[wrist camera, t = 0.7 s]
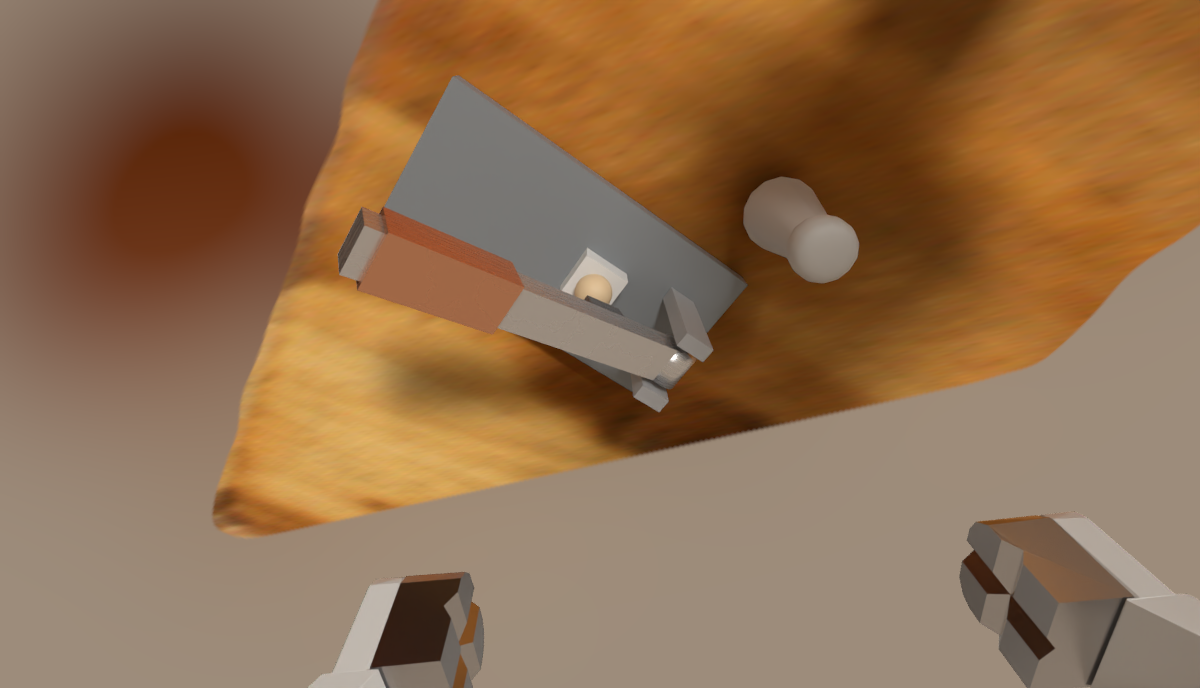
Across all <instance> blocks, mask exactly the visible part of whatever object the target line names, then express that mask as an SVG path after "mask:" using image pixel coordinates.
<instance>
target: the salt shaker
mask: <svg viewBox="0 0 1200 688" xmlns="http://www.w3.org/2000/svg"><path fill="white" fill-rule="evenodd" d="M743 224H744V227H745V229H746V231H747V233H748V235H749V237H750V239H751V240H752V241H753V242H755V243H756V244H757V245H759V246H760V247H761V248H763V249H765V250H768V251H770V252H773V253H775V254H778V255H780V256H783V257H785V258H787V259H788V261H789V263H790V265H791V267H792V269H793V270H794V272H796V273H797V274H798V275H800V276H801V277H802V278H804V279H805V280H807V281H809V282H816V283H827V282H830V281H834V280H838V279H839V278H840V277H841V276H843V275H844V274H845V273H847V272H848V271H849V270H850V269H851V267H852V266H853V264H854V262H855V261H856V259H857V258H858V250H859V241H858V239H857V236H856V233H855V231H854V229H853V228H852V227H851V226H850V225H849V224H847V223H846V222H845V221H843V220H842V219H841V218H839V217H836V216H830V215H827V213H826V211H825V210H824V208H823V206H822V205H821V203H820V201H819V200H818V198H817V196H816V195H815V193H814V191H813V190H812V189H811V188H810V187H809V186H807V185H806V184H805V183H803V182H802V181H801V180H799V179H793V178H787V177H778V178H775V179H771V180H768V181H765V182H764V183H762V184H761V185H760V186H759V187H758V188H757V189H755V190H754V191H753V192H752V193H751V195H750V197H749V199H748V201H747V203H746V205H745V207H744V219H743Z"/></svg>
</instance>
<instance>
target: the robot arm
mask: <svg viewBox="0 0 1200 688" xmlns="http://www.w3.org/2000/svg"><path fill="white" fill-rule="evenodd" d="M967 541H968V543H969V544H970V545H971V546H972V548H973V549H974V550H973V551H972V552H971V553H970V554H969V555H968V556H967V557H966V558H965V559H964V560H963V561H962V565H961V571H960V582H961V587H962V592H963V595H964V598H965V600H966V602H967V604H968V606H969V608H970V610H971V611H972V612H973V614H974V615H975V617H976V618H977V620H978V621H979V622H980V623H981V624H982V625H984V626H986V627H987V628H989V629H991V630H992V631H994V632H996V633H997V634H999V650H1000V652H1001V653H1002V654H1003V656H1004V657H1005V658H1006V660H1007V661H1008V662H1009V664H1010V665H1011V667H1012V668H1013V669H1014V671H1015V672H1016V673H1017V675H1018V676H1019V677H1020V679H1021V680H1022V682H1023V683H1024V684H1025V686H1026V687H1027V688H1083V687H1091V688H1200V600H1199V599H1197V598H1195V597H1193V596H1191V595H1189V594H1174V593H1173V592H1172V591H1171V590H1170V589H1169V588H1167V587H1166V586H1165V585H1164V584H1163V583H1162V582H1161V581H1159V580H1158V579H1157V578H1156V577H1155V576H1154V575H1153V574H1151V573H1150V572H1149V571H1148V570H1147V569H1146V568H1145V567H1143V566H1142V565H1141V564H1140V563H1139V562H1138V561H1137V560H1135V559H1134V558H1133V557H1132V556H1131V555H1130V554H1129V553H1127V552H1126V551H1125V550H1124V549H1123V548H1122V547H1120V546H1119V545H1118V544H1117V543H1116V542H1115V541H1114V540H1112V539H1111V538H1110V537H1109V536H1108V535H1107V534H1106V533H1104V532H1103V531H1102V530H1101V529H1100V528H1099V527H1098V526H1096V525H1095V524H1094V523H1093V522H1092V521H1091V520H1090V519H1088V518H1087V517H1085V516H1084V515H1081V514H1079V513H1077V512H1075V511H1074V512H1064V513H1055V514H1045V515H1040V516H1026V517H1016V518H1008V519H998V520H989V521H980V522H975V523H974V525H973V526H972V527H971V528H970V530H969V534H968V538H967ZM473 590H474V586H473V583H472V580H471V577H470V574H469V573H466V572H459V573H445V574H432V575H416V576H406V577H397V578H382V579H376V580H375V581H374V582H373V583H372V584H371V585H370V586H369V587H368V589H367V591H366V594H365V596H364V599H363V601H362V603H361V606H360V608H359V610H358V613H357V615H356V617H355V620H354V622H353V624H352V627H351V629H350V631H349V634H348V636H347V638H346V641H345V643H344V645H343V648H342V650H341V652H340V655H339V657H338V659H337V662H336V664H335V667H334V669H333V671H332V673H328V674H322V675H321V676H320V677H319V678H317V679H316V680H315V681H314V682H313V683H312V684H311V685H310V686H309V687H308V688H473V686H472V683H471V680H472V679H473V678H474V676H475V675H476V674H477V673H478V672H479V671H480V669H481V663H482V657H483V648H484V628H483V620H482V615H481V611H480V608H479V607H478V606H477V605H476V604H474V603H473V602H472V596H473Z"/></svg>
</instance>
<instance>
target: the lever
mask: <svg viewBox="0 0 1200 688" xmlns="http://www.w3.org/2000/svg"><path fill="white" fill-rule="evenodd" d="M338 264H339V275H342V276H345V277H348V278H351V279H354V280H356V283H357V290H358V291H361V292H364V293H367V294H370V295H373V296H377V297H380V298H383V299H386V300H389V301H392V302H395V303H398V304H401V305H404V306H407V307H410V308H413V309H416V310H419V311H422V312H425V313H428V314H432V315H435V316H438V317H441V318H444V319H447V320H450V321H453V322H456V323H459V324H462V325H465V326H468V327H471V328H474V329H477V330H480V331H483V332H486V333H490V334H493V333H494V332H495V330H496V329H497V328H499V329H502V330H505V331H508V332H511V333H514V334H517V335H520V336H523V337H526V338H529V339H532V340H535V341H538V342H540V343H543V344H546V345H549V346H552V347H555V348H558V349H561V350H564V351H567V352H570V353H573V354H576V355H579V356H582V357H585V358H588V359H591V360H594V361H597V362H600V363H603V364H606V365H609V366H612V367H615V368H617V369H620V370H623V371H626V372H629V373H632V374H635V375H638V376H641V377H644V378H647V379H650V380H653V381H654V382H656V383H657V384H658V385H660V386H662V387H664V388H667V389H672V388H673V387H674V386H675V384H676V383H677V382H678V381H679V380H680V379H681V378H682V376H683V375H684V374H685V373H686V372H687V371H688V369H689V368H690V367H691V366H692V365H693V364H694V363H695V361H696V360H697V358H695V357H694V356H692V355H691V354H689V353H688V352H686V351H684V350H683V349H681V348H680V347H678V346H677V345H676V341H675V338H674V335H673V334H670V333H667V334H664V333H662V332H659V331H657V330H655V329H652V328H650V327H647V326H645V325H643V324H640V323H638V322H635V321H633V320H631V319H628V318H626V317H624V316H623V314H622V313H621V311H620V310H619V308H616V307H614V306H612V305H609V304H607V303H605V302H602V301H600V300H598V299H595V298H593V297H591V296H588V295H587V296H586V297H585V299H584V300H583V299H581V298H578V297H576V296H573V295H571V294H569V293H566V292H564V291H562V290H559V289H557V288H554V287H552V286H550V285H547V284H545V283H542V282H540V281H538V280H535V279H533V278H531V277H528V276H526V275H523V274H521V273H519V272H517V271H516V269H515V267H514V265H513V263H512V262H511V261H509V260H506V259H504V258H502V257H499V256H497V255H495V254H492V253H490V252H488V251H485V250H483V249H481V248H478V247H476V246H474V245H471V244H469V243H467V242H464V241H462V240H460V239H457V238H455V237H453V236H451V235H448V234H446V233H444V232H441V231H439V230H437V229H434V228H432V227H430V226H427V225H425V224H423V223H420V222H418V221H416V220H413V219H411V218H409V217H406V216H404V215H402V214H399V213H397V212H395V211H392V210H390V209H388V208H385V207H383V208H382V210H381V211H380V213H379V214H378V213H376V212H373V211H371V210H369V209H366V208H364V207H361V209H360V211H359V213H358V215H357V217H356V219H355V221H354V223H353V225H352V227H351V229H350V231H349V233H348V235H347V237H346V239H345V241H344V243H343V245H342V247H341V249H340V251H339V253H338Z"/></svg>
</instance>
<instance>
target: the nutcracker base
mask: <svg viewBox="0 0 1200 688" xmlns="http://www.w3.org/2000/svg"><path fill="white" fill-rule="evenodd" d="M384 207H385V208H388V209H390V210H392V211H395V212H397V213H399V214H402V215H404V216H406V217H409V218H411V219H413V220H416V221H418V222H420V223H423V224H425V225H427V226H430V227H432V228H434V229H437V230H439V231H441V232H444V233H446V234H448V235H451V236H453V237H455V238H457V239H460V240H462V241H464V242H467V243H469V244H471V245H474V246H476V247H478V248H481V249H483V250H485V251H488V252H490V253H492V254H495V255H497V256H499V257H502V258H504V259H506V260H509V261H511V262H512V263H513V265H514V267H515V269H516V271H517V272H519V273H521V274H523V275H526V276H528V277H531V278H533V279H535V280H538V281H540V282H542V283H545V284H547V285H550V286H552V287H554V288H557V289H559V290H562V291H564V292H566V293H569V294H571V295H573V296H576V297H578V298H581V299H583V300H584V299H585V297H586V296H587V295H588V296H591V297H593V298H595V299H598V300H600V301H602V302H605V303H607V304H609V305H612V306H614V307H616V308H619V310H620V311H621V313H622V314H623V316H624V317H626V318H628V319H631V320H633V321H635V322H638V323H640V324H643V325H645V326H647V327H650V328H652V329H655V330H657V331H659V332H662V333H664V334H667V333H670V334H673V335H674V338H675V341H676V345H677V346H678V347H680V348H681V349H683V350H684V351H686V352H688V353H689V354H691V355H692V356H694V357H695V358H697V359H698V360H700V361H702V362H704V360H705V359H706V358H707V357H708V356H709V355H710V354H711V352H712V351H713V348H712V345H711V343H710V340H709V338H708V336H707V332H708V331H709V330H710V329H711V328H712V326H713V325H714V324H715V323H716V322H717V321H718V319H719V318H720V317H721V316H722V315H723V314H724V312H725V311H726V310H727V309H728V308H729V307H730V305H731V304H732V303H733V302H734V301H735V300H736V298H737V297H738V296H739V295H740V294H741V293H742V291H743V290H744V289H745V288H746V287H747V286H748V285H747V283H746V282H745V280H744V279H743V277H741V276H740V275H739V274H737V273H736V272H734V271H733V270H732V269H730V268H729V267H727V266H726V265H725V264H723V263H722V262H720V261H719V260H718V259H716V258H715V257H713V256H712V255H711V254H709V253H708V252H706V251H705V250H704V249H702V248H701V247H699V246H698V245H696V244H695V243H694V242H692V241H691V240H689V239H688V238H687V237H685V236H684V235H682V234H681V233H680V232H678V231H677V230H675V229H674V228H673V227H671V226H670V225H668V224H667V223H666V222H664V221H663V220H661V219H660V218H658V217H657V216H656V215H654V214H653V213H651V212H650V211H649V210H647V209H646V208H644V207H643V206H642V205H640V204H639V203H637V202H636V201H635V200H633V199H632V198H630V197H629V196H628V195H626V194H625V193H623V192H622V191H621V190H619V189H618V188H616V187H615V186H613V185H612V184H611V183H609V182H608V181H606V180H605V179H604V178H602V177H601V176H599V175H598V174H597V173H595V172H594V171H592V170H591V169H590V168H588V167H587V166H585V165H584V164H583V163H581V162H580V161H578V160H577V159H575V158H574V157H573V156H571V155H570V154H568V153H567V152H566V151H564V150H563V149H561V148H560V147H559V146H557V145H556V144H554V143H553V142H552V141H550V140H549V139H547V138H546V137H545V136H543V135H542V134H540V133H539V132H538V131H536V130H535V129H533V128H532V127H530V126H529V125H528V124H526V123H525V122H523V121H522V120H521V119H519V118H518V117H516V116H515V115H514V114H512V113H511V112H509V111H508V110H507V109H505V108H504V107H502V106H501V105H500V104H498V103H497V102H495V101H494V100H492V99H491V98H490V97H488V96H487V95H485V94H484V93H483V92H481V91H480V90H478V89H477V88H476V87H474V86H473V85H471V84H470V83H469V82H467V81H466V80H464V79H463V78H462V77H460V76H453V77H452V79H451V81H450V83H449V85H448V86H447V88H446V90H445V92H444V94H443V96H442V98H441V100H440V102H439V104H438V106H437V107H436V109H435V111H434V113H433V115H432V117H431V119H430V121H429V123H428V125H427V126H426V128H425V130H424V132H423V134H422V136H421V138H420V140H419V142H418V144H417V145H416V147H415V149H414V151H413V153H412V155H411V157H410V159H409V161H408V163H407V165H406V166H405V168H404V170H403V172H402V174H401V176H400V178H399V180H398V182H397V184H396V185H395V187H394V189H393V191H392V193H391V195H390V197H389V199H388V201H387V203H386V204H385V206H384ZM563 351H564V350H563ZM565 352H567V351H565ZM567 353H568V354H570V355H572V356H573V357H575V358H577V359H578V360H580V361H582V362H583V363H585V364H587V365H588V366H590V367H592V368H593V369H595V370H597V371H598V372H600V373H602V374H603V375H605V376H607V377H608V378H610V379H612V380H613V381H615V382H617V383H618V384H620V385H622V386H623V387H625V388H627V389H628V390H630V391H632V392H633V397H634V398H636V399H638V400H639V401H641V402H643V403H644V404H646V405H648V406H649V407H651V408H653V409H654V410H656V411H658V412H660V411H661V410H662V408H663V407H664V406H665V405H666V404H667V403H668V402H669V400H668V395H667V391H666V388H664V387H662V386H660V385H658V384H657V383H656V382H654V381H653V380H650V379H647V378H644V377H641V376H638V375H635V374H632V373H629V372H626V371H623V370H620V369H617V368H615V367H612V366H609V365H606V364H603V363H600V362H597V361H594V360H591V359H588V358H585V357H582V356H579V355H576V354H573V353H570V352H567Z"/></svg>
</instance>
